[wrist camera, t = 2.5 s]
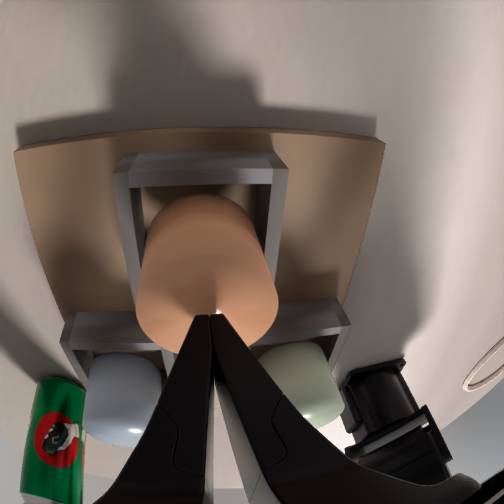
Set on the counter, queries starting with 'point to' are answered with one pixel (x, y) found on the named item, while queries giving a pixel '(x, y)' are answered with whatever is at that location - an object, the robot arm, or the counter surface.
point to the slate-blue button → (120, 397)
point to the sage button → (305, 380)
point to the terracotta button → (203, 271)
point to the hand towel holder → (479, 365)
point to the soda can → (55, 444)
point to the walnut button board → (187, 182)
